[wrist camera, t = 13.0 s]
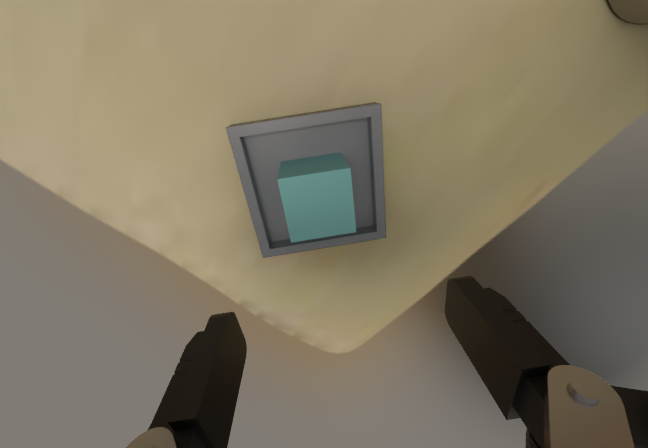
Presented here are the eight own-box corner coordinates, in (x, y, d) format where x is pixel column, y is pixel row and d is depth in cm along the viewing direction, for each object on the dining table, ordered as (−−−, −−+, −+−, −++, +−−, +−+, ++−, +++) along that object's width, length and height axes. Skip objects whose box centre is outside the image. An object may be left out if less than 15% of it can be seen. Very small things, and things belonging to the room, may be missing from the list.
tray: (374, 102, 22) (381, 103, 20) (380, 228, 27) (386, 237, 25) (231, 124, 22) (225, 127, 20) (265, 247, 27) (263, 257, 25)
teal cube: (340, 152, 23) (350, 167, 18) (345, 206, 25) (356, 232, 21) (281, 161, 23) (277, 179, 18) (292, 215, 25) (291, 242, 20)
